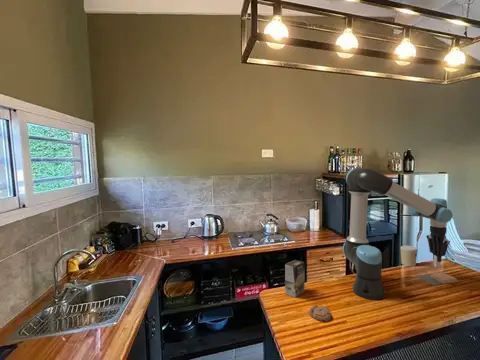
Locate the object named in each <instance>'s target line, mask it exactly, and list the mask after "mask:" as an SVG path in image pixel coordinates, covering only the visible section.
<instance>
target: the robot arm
mask: <svg viewBox="0 0 480 360" xmlns="http://www.w3.org/2000/svg"><path fill="white" fill-rule="evenodd" d="M345 182H346V184H347V186H348V192H349V194H350V196H351V197H350V215H349V217H350V218H349V235H348V236H347V237H346V239H345V242H344V243H343V246H342V253H343V255H344V256H345V258H346V259H347V260H348V261H349V262H351V263H352V264H354V265H355V266H356V276H355V279H354V282H353V284H352V292H353V293H354V294H355V295H356V296H358V297H360V298H363V299H367V300H377V301H378V300H382V299H384V298H385V296H386V290H385V288H384V287H385V286H384V285H383V281H382V266H383V265H382V263H383V262H382V261H383V257H382V252H381V250H380V249H379V248H377V247H376V246H372V245H370V244H369V240H368V238H367V225H368V224H367V221H368V220H367V219H368V206H369V205H368V202H369V201H368V200H369V195H371V193H372V192H373V193H377V194H378V195H380V196H387V197H388V198H391V199H392V200H394V201H396V202H398V203H400V204H401V205H402V204H403V205H404V206H406V207H408V213H409V215H410V216H411V217H416V218H417V217H422V218H425V219H429V220H430V221H429V225H430V226H429V234H428V235H426V236H425V237H426V240H427V242H428V249H429V252H430V253H431V254H432V256H433V257H432V259H433V267H435V268H440V267H441V262H442V257H445V256H446V254H447V251H448V246H449V245H450V243H451V241H450V240H448V239H447V236H446V234H447V223H449V222H450V221H452V218H453V216H454V215H453V212H452V210H451V209H449V208H448V201H447V199H445V198H431V199H430V200H429V199H427V198H425V197H422V196H421V195H419V194H417V193H415V192H413V191H411V190H410V189H407V188H405V187H404V186H401V185H400V184H398V183H396V182H394V181H393V179H392V178H391V177H389V176H387V175H385V174H383V173H382V172H380V171H378V170H376V169H373V168H369V167H368V168H367V167H354V168H352V169H351V170H349V171H348V172H347V174H346V177H345Z"/></svg>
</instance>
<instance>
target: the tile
mask: <svg viewBox="0 0 480 360" xmlns="http://www.w3.org/2000/svg"><path fill="white" fill-rule="evenodd" d="M434 273H435V274H433V273H430V274H431V278H433V279H436V280H438V281H440V282H442V283H445V284H451V283H452V282H453V283H457V282H456V280H457V277H454V276H452V275H449V274H447V273H445V272H434ZM453 283H452V284H453Z"/></svg>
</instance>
